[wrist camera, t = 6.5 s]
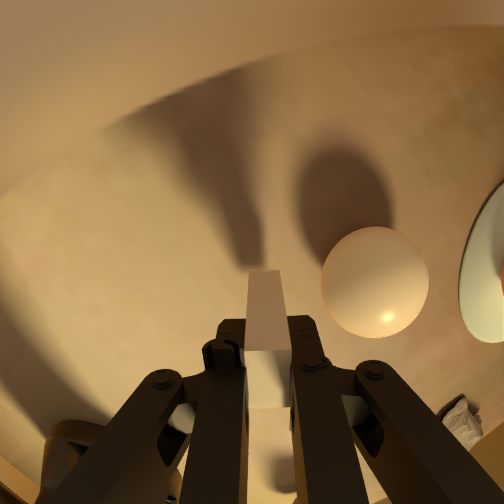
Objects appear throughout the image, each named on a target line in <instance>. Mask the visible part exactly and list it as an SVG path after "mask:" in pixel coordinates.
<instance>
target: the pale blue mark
mask: <svg viewBox="0 0 504 504" xmlns="http://www.w3.org/2000/svg"><path fill="white" fill-rule="evenodd" d="M503 267H504V183H503V184H502V185H501V186H500V187H499V188H497V190H496V191H495V192H494V193H493V195H492V196H491V197H490V198H489V200H488V201H487V203H486V205H485V206H484V208H483V209H482V211H481V213H480V215H479V217H478V219H477V220H476V223H475V225H474V227H473V230H472V232H471V234H470V237H469V240H468V243H467V246H466V249H465V253H464V257H463V261H462V266H461V271H460V279H459V307H460V312H461V316H462V319H463V321H464V324H465V326H466V327H467V329H468V330H469V331H470V332H471V334H472V335H473V336H474V337H476V338H477V339H479V340H481V341H484V342H489V343H496V342H502V341H504V295H503V291H502V285H501V278H502V270H503Z"/></svg>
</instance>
